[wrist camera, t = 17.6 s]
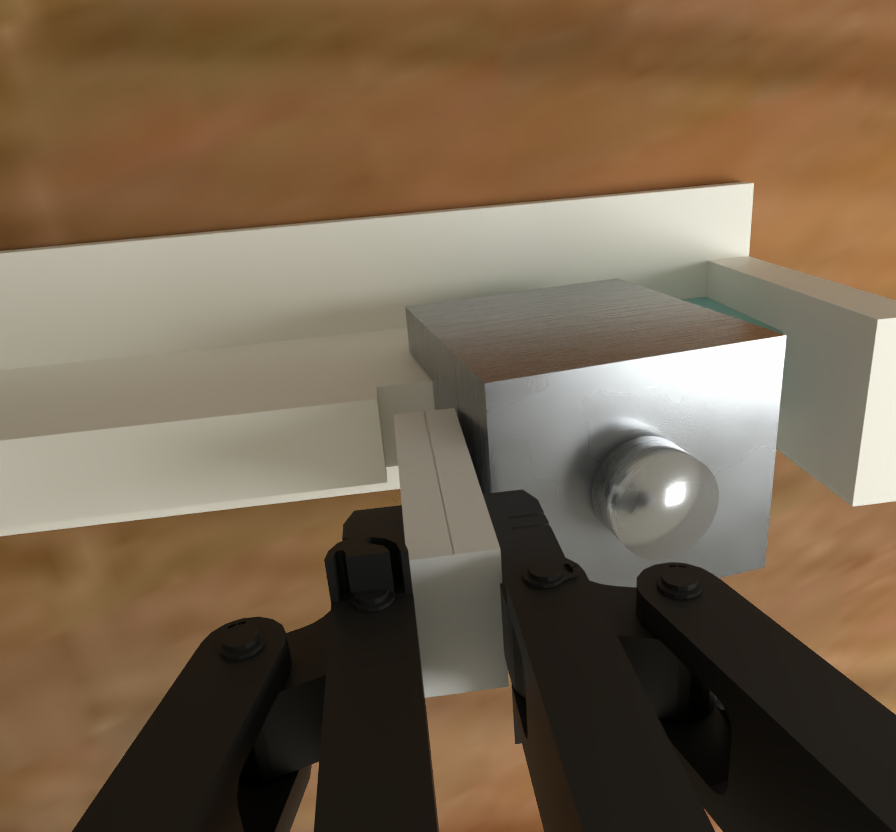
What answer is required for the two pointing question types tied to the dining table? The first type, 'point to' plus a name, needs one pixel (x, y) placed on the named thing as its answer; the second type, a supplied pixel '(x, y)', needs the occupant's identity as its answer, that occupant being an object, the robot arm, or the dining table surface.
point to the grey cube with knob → (615, 419)
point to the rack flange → (371, 348)
